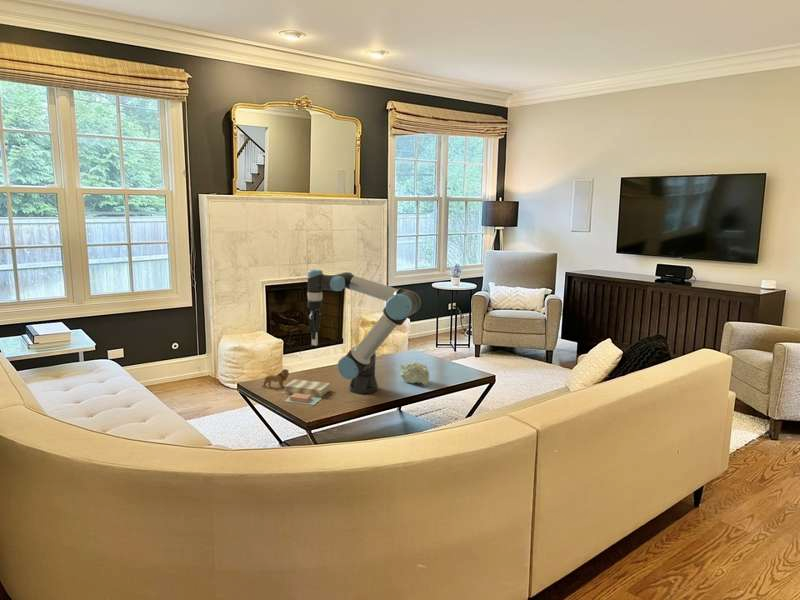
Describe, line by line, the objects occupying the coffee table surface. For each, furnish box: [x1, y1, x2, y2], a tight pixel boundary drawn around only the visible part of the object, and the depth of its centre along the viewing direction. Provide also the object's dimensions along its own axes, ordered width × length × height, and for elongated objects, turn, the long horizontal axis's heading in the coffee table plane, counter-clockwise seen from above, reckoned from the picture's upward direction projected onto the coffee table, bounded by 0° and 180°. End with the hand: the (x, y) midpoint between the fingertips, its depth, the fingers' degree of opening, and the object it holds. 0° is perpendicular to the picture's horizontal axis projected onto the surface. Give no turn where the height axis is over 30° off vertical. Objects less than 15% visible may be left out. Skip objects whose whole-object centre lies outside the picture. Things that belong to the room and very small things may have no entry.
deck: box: [284, 378, 331, 398], centre depth 301 cm, size 20×12×4 cm, turn 75°
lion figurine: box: [261, 368, 290, 389], centre depth 308 cm, size 15×5×9 cm, turn 120°
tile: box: [289, 393, 312, 403], centre depth 289 cm, size 9×6×2 cm, turn 75°
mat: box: [283, 396, 323, 406], centre depth 289 cm, size 16×11×1 cm
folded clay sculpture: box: [399, 361, 430, 387], centre depth 321 cm, size 18×13×16 cm
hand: (314, 344), depth 301 cm, fingers closed
